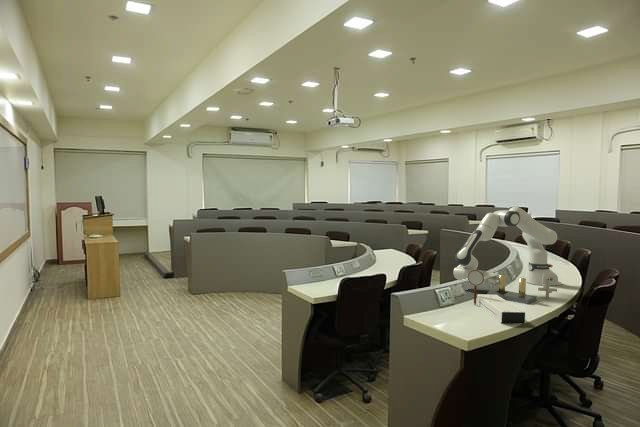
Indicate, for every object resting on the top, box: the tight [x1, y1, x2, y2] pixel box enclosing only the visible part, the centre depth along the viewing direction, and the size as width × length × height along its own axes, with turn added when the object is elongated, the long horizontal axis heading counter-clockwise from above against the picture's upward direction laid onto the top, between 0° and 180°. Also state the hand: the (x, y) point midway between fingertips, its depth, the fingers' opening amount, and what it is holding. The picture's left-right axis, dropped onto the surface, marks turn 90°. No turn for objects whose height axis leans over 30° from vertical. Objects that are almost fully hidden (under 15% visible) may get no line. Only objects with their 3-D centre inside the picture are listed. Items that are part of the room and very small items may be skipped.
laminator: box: [476, 293, 526, 325], centre depth 216 cm, size 34×12×6 cm, turn 178°
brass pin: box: [498, 274, 507, 294], centre depth 251 cm, size 4×4×13 cm
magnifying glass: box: [468, 269, 484, 306], centre depth 230 cm, size 9×2×20 cm, turn 57°
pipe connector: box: [537, 281, 558, 299], centre depth 248 cm, size 10×10×10 cm
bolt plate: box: [487, 277, 538, 305], centre depth 246 cm, size 24×12×13 cm, turn 42°
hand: (499, 280), depth 252 cm, fingers open, 8 cm apart
